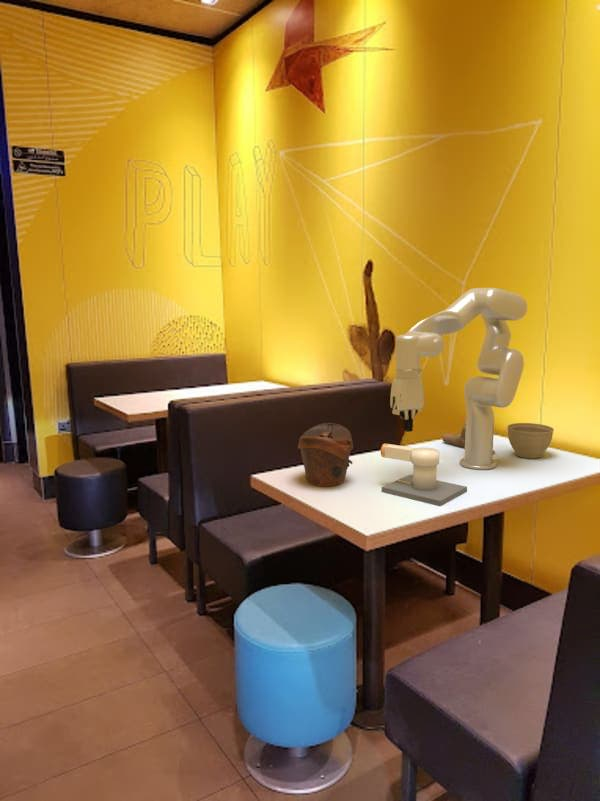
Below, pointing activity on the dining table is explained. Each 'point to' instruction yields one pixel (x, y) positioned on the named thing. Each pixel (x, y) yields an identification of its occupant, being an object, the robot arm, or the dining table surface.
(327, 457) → the brown domed pot
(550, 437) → the planter bowl
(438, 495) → the base
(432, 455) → the cream piece
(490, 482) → the dining table surface
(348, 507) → the dining table surface
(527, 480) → the dining table surface
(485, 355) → the robot arm
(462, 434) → the pipe
